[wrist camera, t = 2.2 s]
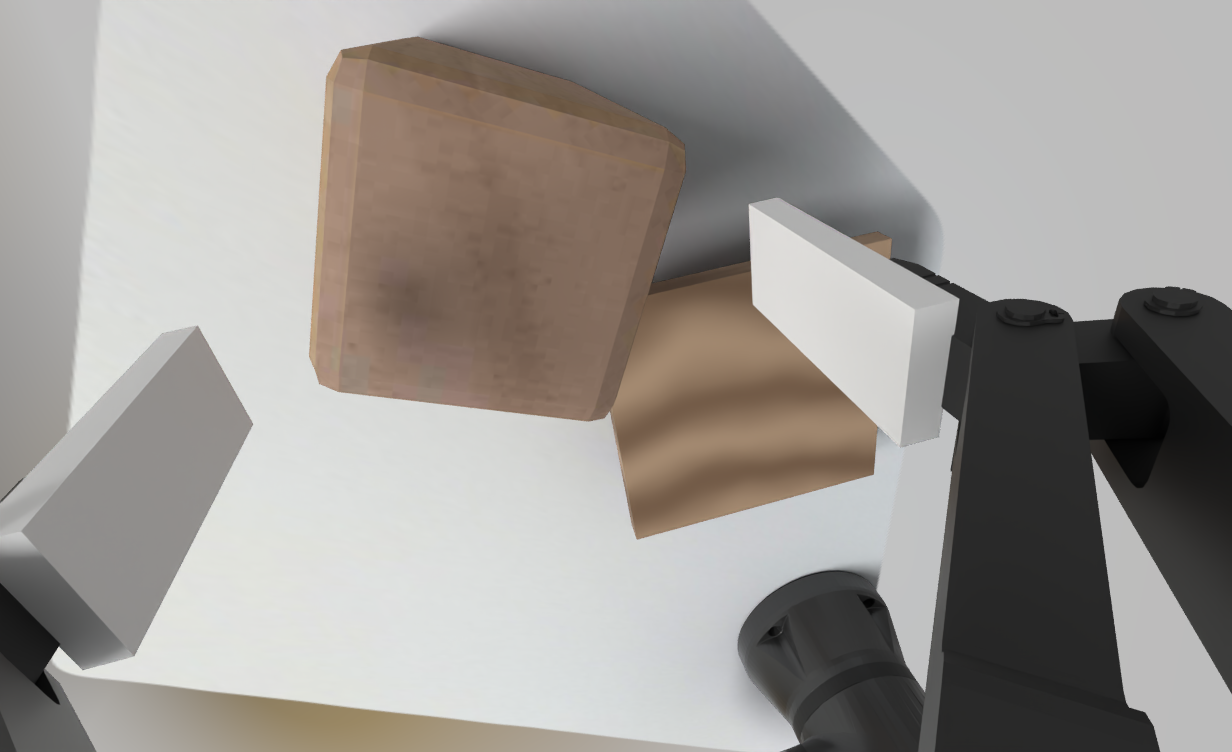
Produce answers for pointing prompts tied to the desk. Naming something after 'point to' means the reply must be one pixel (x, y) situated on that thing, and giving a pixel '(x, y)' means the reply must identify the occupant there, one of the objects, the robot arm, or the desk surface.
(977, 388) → the robot arm
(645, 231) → the wooden block
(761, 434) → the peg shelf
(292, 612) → the desk surface
